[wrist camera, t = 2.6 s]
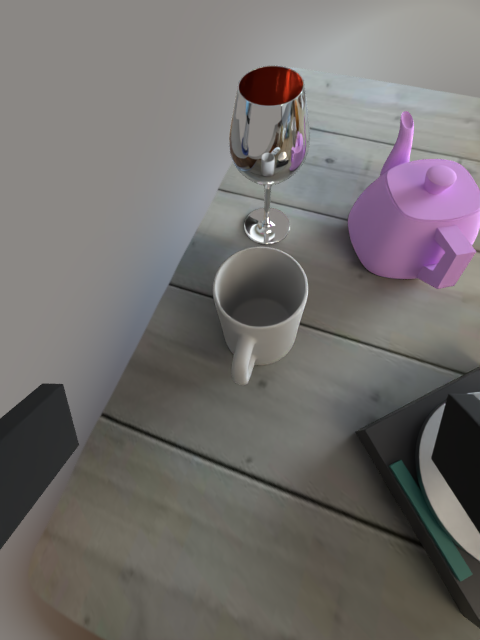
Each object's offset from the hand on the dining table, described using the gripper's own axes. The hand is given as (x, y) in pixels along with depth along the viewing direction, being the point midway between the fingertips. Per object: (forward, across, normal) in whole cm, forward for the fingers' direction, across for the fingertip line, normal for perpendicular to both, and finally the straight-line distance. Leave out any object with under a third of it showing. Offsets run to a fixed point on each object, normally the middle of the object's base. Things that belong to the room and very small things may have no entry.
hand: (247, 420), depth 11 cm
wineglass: (+36, +1, +4) cm, 37 cm away
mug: (+24, 0, -9) cm, 26 cm away
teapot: (+35, +18, +2) cm, 39 cm away
